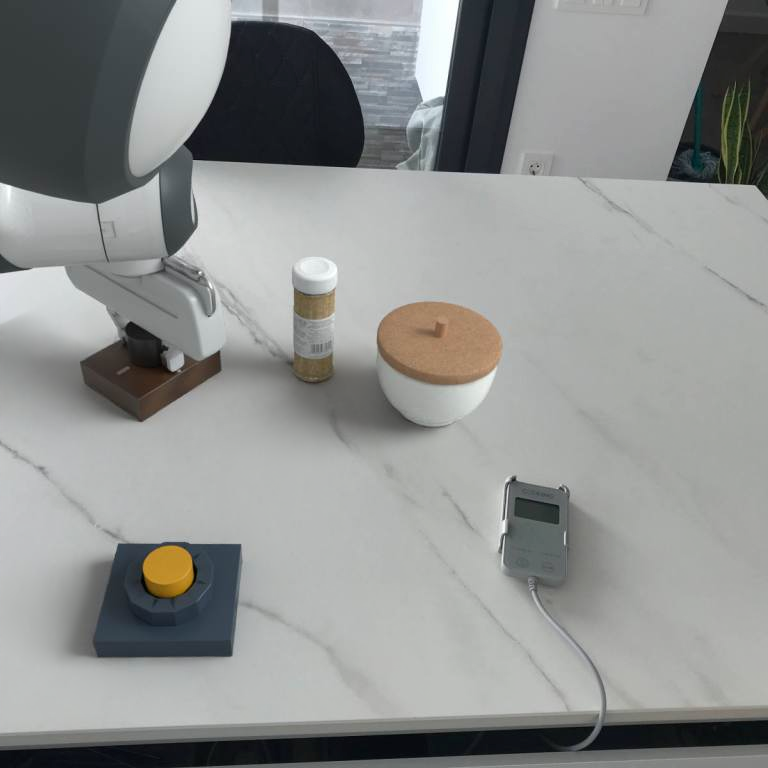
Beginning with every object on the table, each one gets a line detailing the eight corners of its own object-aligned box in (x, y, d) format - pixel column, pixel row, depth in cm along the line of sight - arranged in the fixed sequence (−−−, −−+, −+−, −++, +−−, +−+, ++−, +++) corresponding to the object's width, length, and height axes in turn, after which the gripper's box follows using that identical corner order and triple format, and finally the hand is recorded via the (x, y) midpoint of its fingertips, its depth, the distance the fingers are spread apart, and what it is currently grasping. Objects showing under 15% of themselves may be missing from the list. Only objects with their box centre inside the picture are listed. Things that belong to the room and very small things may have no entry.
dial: (181, 352, 82) (178, 323, 79) (150, 373, 79) (146, 343, 76) (151, 337, 83) (147, 307, 81) (120, 356, 80) (114, 326, 78)
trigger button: (141, 598, 58) (138, 584, 57) (150, 559, 61) (147, 545, 60) (190, 598, 58) (188, 584, 57) (196, 559, 61) (194, 545, 60)
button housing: (97, 657, 58) (88, 627, 55) (121, 559, 65) (114, 528, 62) (232, 656, 59) (229, 626, 56) (242, 559, 66) (240, 529, 63)
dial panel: (142, 422, 78) (138, 398, 76) (84, 384, 81) (79, 360, 79) (221, 370, 85) (219, 347, 83) (165, 337, 89) (162, 314, 86)
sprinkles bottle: (330, 357, 88) (334, 253, 79) (336, 382, 85) (341, 277, 76) (289, 359, 87) (289, 255, 79) (294, 385, 84) (294, 279, 75)
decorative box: (503, 440, 80) (524, 355, 73) (384, 450, 77) (393, 363, 70) (469, 364, 89) (484, 282, 82) (361, 371, 86) (367, 287, 79)
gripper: (238, 263, 70) (244, 381, 79) (93, 189, 78) (114, 303, 87) (184, 291, 66) (197, 412, 75) (38, 210, 74) (65, 327, 83)
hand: (151, 352), depth 81 cm, fingers open, 5 cm apart
